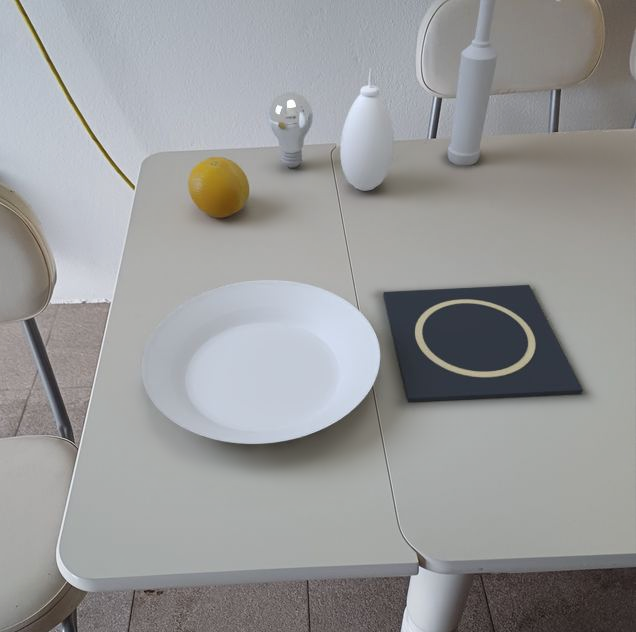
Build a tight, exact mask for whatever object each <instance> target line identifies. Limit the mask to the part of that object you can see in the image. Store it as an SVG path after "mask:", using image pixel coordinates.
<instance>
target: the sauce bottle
mask: <svg viewBox="0 0 636 632" xmlns="http://www.w3.org/2000/svg"><path fill="white" fill-rule="evenodd" d="M367 82H368V84H367V85H363V86H362V87H361V88H360V91H359V95H358V96H357V97H356V98H355V100H354V102H353V103H352V105H351V107H350V109H349V111H348V113H347V116H346V118H345V122H344V124H343V127H342V132H341V137H340V146H339V150H340V151H339V153H340V157H339V158H340V163H341V168H342V171H343V174H344V176H345V178H346V181H347V182H348V183H349V184H350V185H351V186H353V187H354V188H355V189H357V190H360V191H363V192H368V191H371V190H374V189H376V187H378V186H379V185H381V184H382V183H383V182H384V180H385V178H386V177H387V175H388V173H389V171H390V168H391V166H392V162H393V158H394V151H395V137H394V127H393V123H392V119H391V115H390V112H389V109H388V106H387V104H386V103H385V101H384V98H383V97H382V96H381V94H380V88H379V87H378V86H377V85H373V70H372V68H371V67H370V68H369V72H368V81H367Z"/></svg>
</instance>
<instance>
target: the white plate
mask: <svg viewBox="0 0 636 632" xmlns="http://www.w3.org/2000/svg"><path fill="white" fill-rule="evenodd" d="M146 341H147V342H146V344H145V346H144V348H143V352H142V356H141V368H140V369H141V379H142V382H143V385H144V388H145V391H146V393H147V396H149V398H150V400H151V401H152V403H153V404H154V406H155V407H156V408H157V409H158V410H159V411H160V413H162V414H163V415H164V416H165V417H167V418H168V419H169V420H170V421H171V422H173V423H175V424H176V425H178V426H179V427H181V428H183V429H185V430H187V431H189V432H191V433H194V434H196V435H198V436H201V437H205V438H208V439H211V440H215V441H219V442H226V443H231V444H232V443H233V444H242V445H243V444H245V445H247V444H248V445H249V444H250V445H258V444H259V445H260V444H261V445H262V444H273V443H280V442H286V441H291V440H295V439H299V438H303V437H305V436H308V435H311V434H313V433H316V432H319V431H321V430H324V429H326V428H327V427H329V426H331V425H333V424H335V423H336V422H338V421H340V420H342V419H343V418H344V417H346V416H347V415H348V414H349V413H351V412H352V411H353V410H354V409H355V408H357V407H358V406H359V405H360V404H361V402H363V400H364V399H365V398H366V397H367V396H368V393H369V392H370V391H371V389H372V387H373V385H374V384H375V382H376V379H377V376H378V374H379V370H380V363H381V350H380V349H381V348H380V343H379V340H378V337H377V334H376V331H375V330H374V328H373V326H372V324H371V323H370V321H369V320H368V319H367V318H366V317H365V316H364V314H363V313H362V312H361V311H360V310H359V309H358V308H357V307H355V306H354V305H353V304H351V302H349V301H347V300H346V299H344V298H343V297H341V296H339V295H337V294H335V293H333V292H331V291H328V290H326V289H324V288H322V287H318V286H314V285H311V284H306V283H302V282H297V281H290V280H281V279H280V280H279V279H259V280H258V279H257V280H247V281H240V282H234V283H230V284H229V283H228V284H226V285H222V286H218V287H216V288H213V289H209V290H207V291H205V292H201V293H200V294H198V295H196V296H194V297H192V298H190V299H188V300H186V301H185V302H182V303H181V304H180V305H178V306H177V307H176V308H174V309H173V310H172V311H170V312H169V313H168V314H167V315H166V316H164V318H163V319H162V320H161V321H160V322H159V323H158V324H157V325H156V327H155V328H154V329H153V331H152V332H151V334H150V336H149V337H148V340H146Z"/></svg>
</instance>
